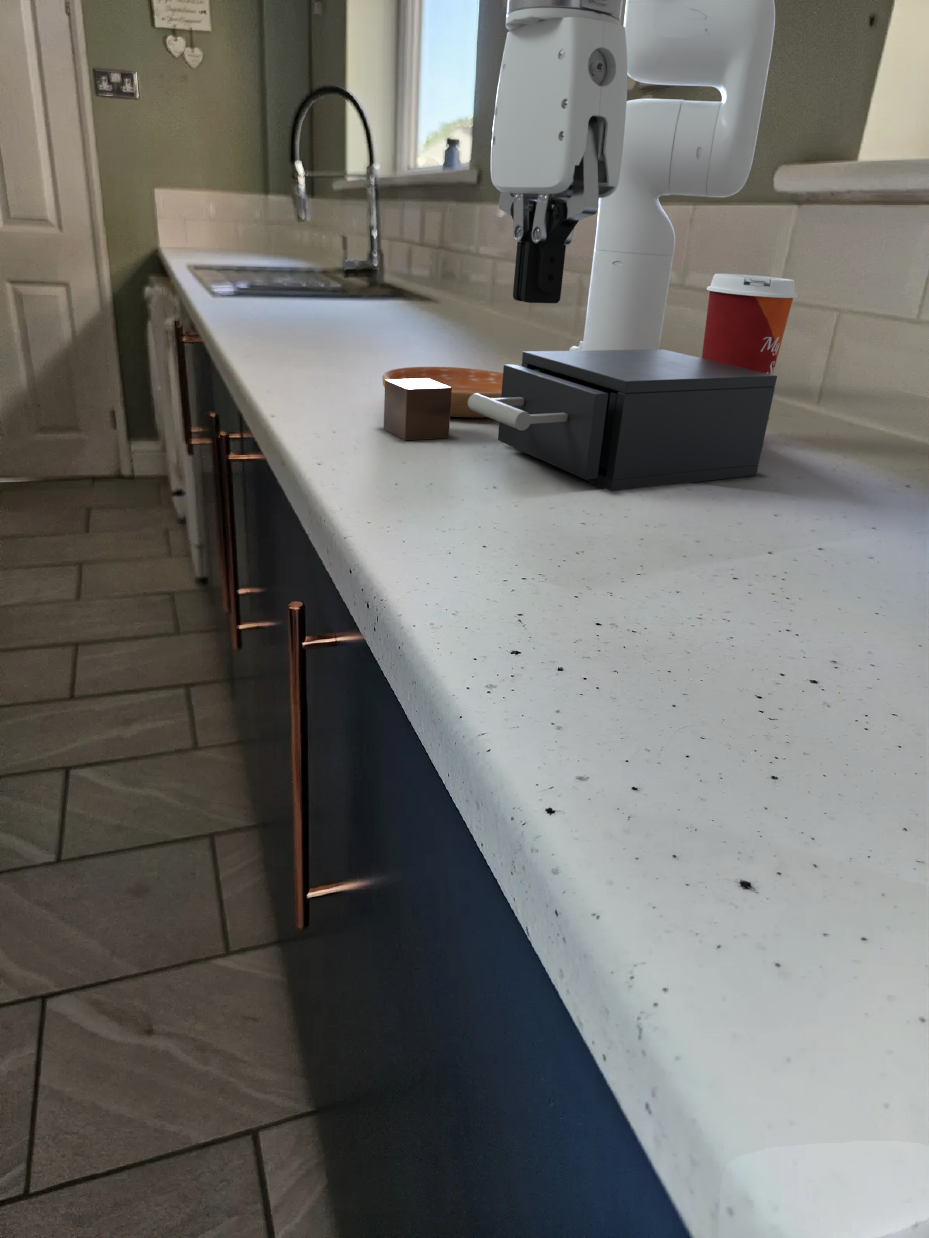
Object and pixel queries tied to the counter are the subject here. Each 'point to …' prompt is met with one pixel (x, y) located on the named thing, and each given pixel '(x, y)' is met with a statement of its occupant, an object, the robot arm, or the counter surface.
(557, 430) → the drawer
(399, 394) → the block
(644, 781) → the counter surface
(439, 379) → the saucer
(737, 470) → the dark grey drawer cabinet
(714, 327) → the coffee cup
